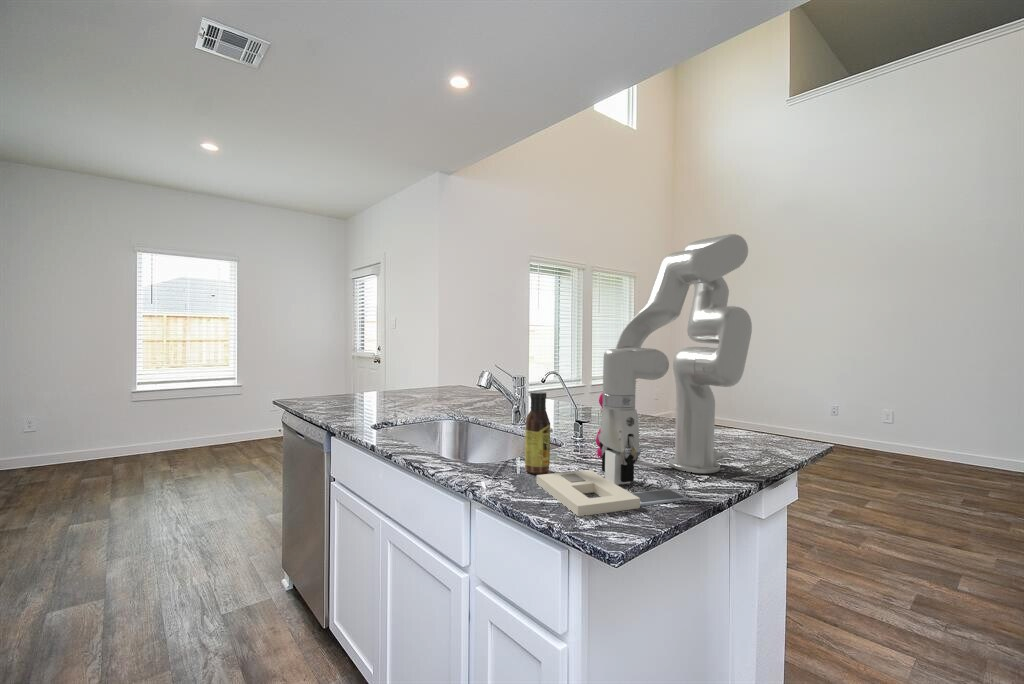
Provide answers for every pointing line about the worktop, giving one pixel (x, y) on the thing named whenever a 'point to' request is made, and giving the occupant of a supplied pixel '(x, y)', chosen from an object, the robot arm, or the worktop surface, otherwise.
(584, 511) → the outlet plate
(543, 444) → the sauce bottle
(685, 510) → the worktop surface
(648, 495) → the plate
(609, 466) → the plug
